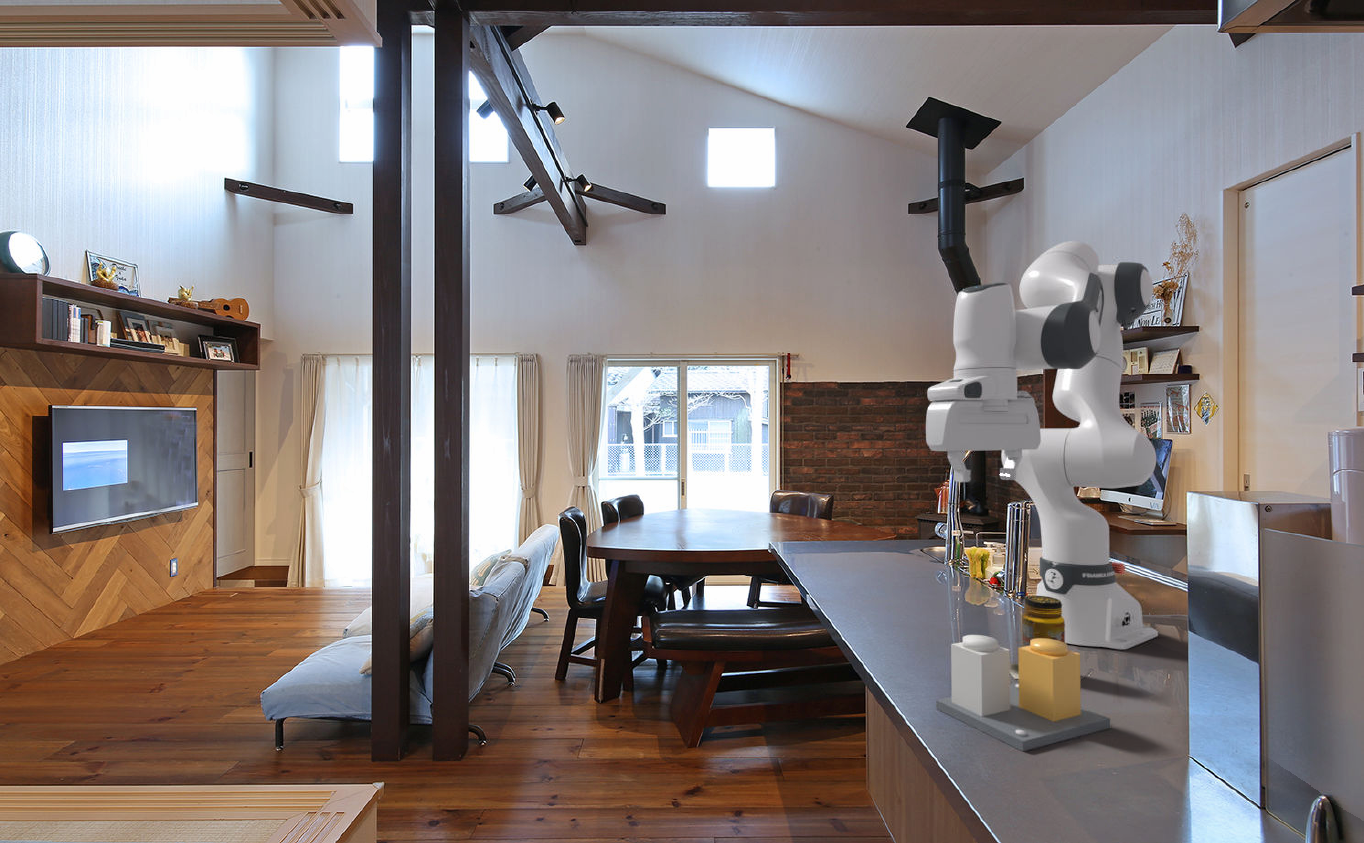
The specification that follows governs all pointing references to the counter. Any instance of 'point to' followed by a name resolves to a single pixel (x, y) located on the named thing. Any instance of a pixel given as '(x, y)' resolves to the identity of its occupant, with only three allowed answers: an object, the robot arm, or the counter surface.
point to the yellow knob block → (1049, 679)
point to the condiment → (1040, 623)
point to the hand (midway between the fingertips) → (985, 480)
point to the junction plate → (1026, 723)
